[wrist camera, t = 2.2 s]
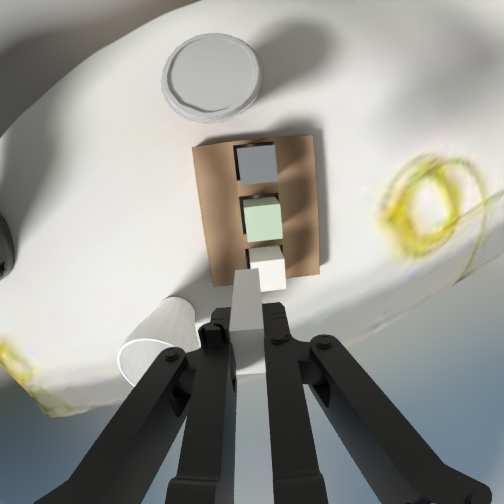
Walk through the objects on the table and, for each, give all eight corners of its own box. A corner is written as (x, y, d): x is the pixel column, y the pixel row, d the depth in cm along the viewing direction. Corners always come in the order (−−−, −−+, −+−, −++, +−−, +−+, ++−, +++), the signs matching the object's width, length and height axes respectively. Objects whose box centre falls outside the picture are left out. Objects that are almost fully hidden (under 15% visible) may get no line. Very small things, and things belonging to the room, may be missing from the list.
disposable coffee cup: (169, 91, 31) (139, 69, 20) (229, 52, 30) (225, 13, 18) (209, 145, 34) (195, 142, 23) (270, 105, 33) (285, 84, 21)
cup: (132, 304, 42) (101, 358, 29) (179, 270, 40) (156, 323, 27) (175, 347, 45) (159, 407, 32) (222, 320, 43) (218, 381, 31)
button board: (214, 280, 41) (213, 286, 39) (194, 147, 34) (191, 147, 32) (316, 268, 41) (319, 274, 39) (308, 135, 34) (312, 135, 32)
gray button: (240, 180, 34) (241, 185, 30) (237, 148, 33) (236, 148, 28) (272, 177, 34) (278, 181, 30) (269, 145, 33) (274, 144, 28)
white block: (252, 275, 39) (253, 292, 34) (248, 248, 37) (250, 262, 33) (280, 271, 39) (286, 288, 34) (278, 244, 37) (284, 258, 33)
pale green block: (246, 230, 37) (247, 242, 32) (243, 199, 35) (243, 207, 30) (277, 226, 37) (282, 238, 32) (274, 196, 35) (280, 203, 30)
